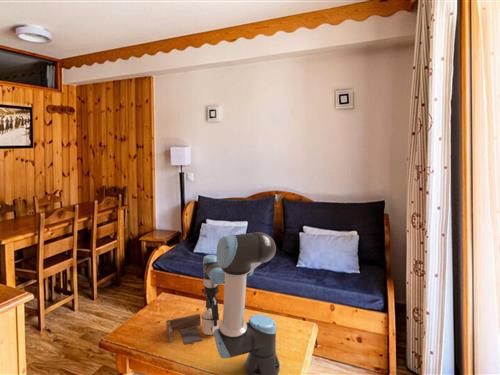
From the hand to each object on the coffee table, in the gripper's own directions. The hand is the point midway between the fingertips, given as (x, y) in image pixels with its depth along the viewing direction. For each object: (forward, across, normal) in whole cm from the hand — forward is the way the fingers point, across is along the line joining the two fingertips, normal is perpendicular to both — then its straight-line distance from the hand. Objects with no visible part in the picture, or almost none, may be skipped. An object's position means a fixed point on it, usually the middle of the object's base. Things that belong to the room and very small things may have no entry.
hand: (212, 326), depth 169 cm
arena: (+4, +4, +13) cm, 14 cm away
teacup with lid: (+2, +1, 0) cm, 2 cm away
